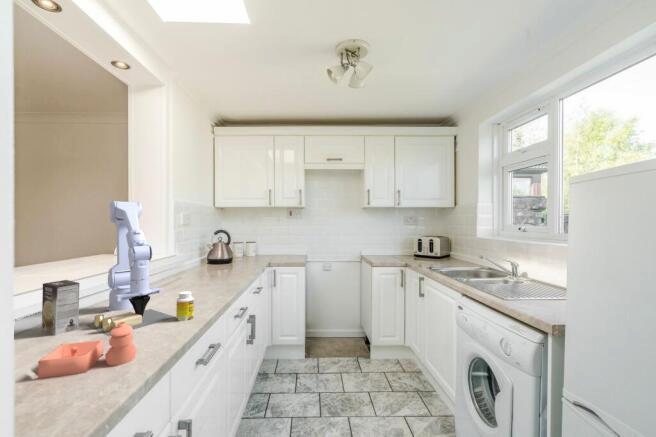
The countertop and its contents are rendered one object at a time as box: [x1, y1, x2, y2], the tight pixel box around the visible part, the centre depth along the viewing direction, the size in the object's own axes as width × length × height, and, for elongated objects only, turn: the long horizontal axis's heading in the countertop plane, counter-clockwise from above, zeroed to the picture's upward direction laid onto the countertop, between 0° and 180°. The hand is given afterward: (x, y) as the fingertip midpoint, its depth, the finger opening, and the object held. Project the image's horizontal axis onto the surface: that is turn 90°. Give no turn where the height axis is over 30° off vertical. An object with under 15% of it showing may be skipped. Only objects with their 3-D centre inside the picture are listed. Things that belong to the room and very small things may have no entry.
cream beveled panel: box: [106, 311, 142, 329], centre depth 98 cm, size 8×8×2 cm
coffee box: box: [41, 279, 80, 336], centre depth 93 cm, size 9×6×16 cm
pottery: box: [37, 322, 137, 380], centre depth 73 cm, size 18×10×10 cm, turn 108°
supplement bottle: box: [175, 290, 195, 322], centre depth 105 cm, size 6×6×10 cm
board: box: [86, 308, 176, 337], centre depth 102 cm, size 18×21×1 cm
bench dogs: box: [93, 314, 112, 334], centre depth 94 cm, size 8×2×4 cm, turn 58°
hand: (139, 317), depth 103 cm, fingers closed
